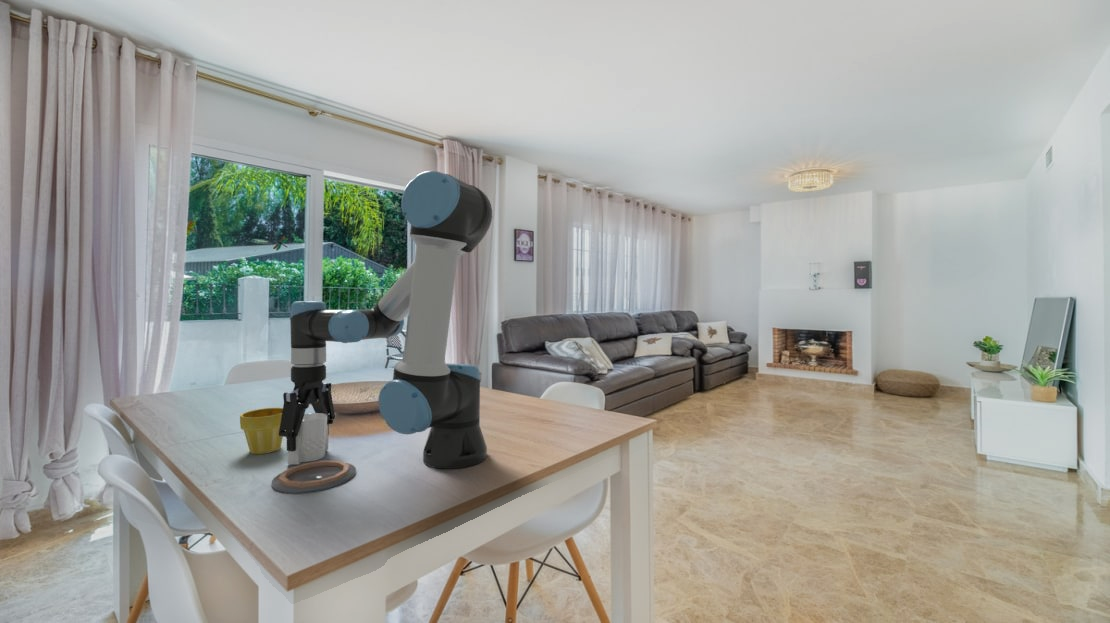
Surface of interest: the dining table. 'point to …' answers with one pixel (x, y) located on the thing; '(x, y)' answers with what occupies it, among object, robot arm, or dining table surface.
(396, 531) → the dining table surface
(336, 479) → the trivet
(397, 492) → the dining table surface
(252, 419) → the plant pot
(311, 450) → the white cup
